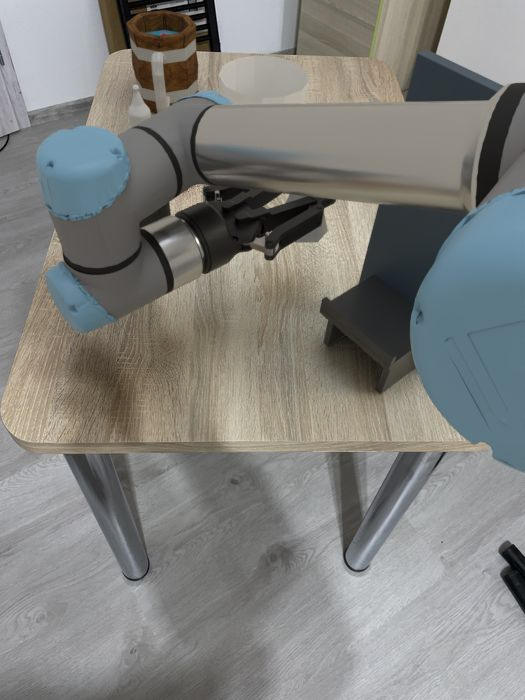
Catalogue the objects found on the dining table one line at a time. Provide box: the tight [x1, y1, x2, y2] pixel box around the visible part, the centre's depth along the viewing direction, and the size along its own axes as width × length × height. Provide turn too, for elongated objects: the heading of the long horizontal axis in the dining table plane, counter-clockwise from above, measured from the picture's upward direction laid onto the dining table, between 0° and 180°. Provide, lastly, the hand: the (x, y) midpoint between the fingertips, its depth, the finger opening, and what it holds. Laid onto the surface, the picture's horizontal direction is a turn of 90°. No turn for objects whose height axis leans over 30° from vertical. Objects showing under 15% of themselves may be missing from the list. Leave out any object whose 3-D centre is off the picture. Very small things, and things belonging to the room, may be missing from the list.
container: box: [218, 54, 310, 104], centre depth 93 cm, size 14×14×18 cm
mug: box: [125, 9, 200, 115], centre depth 108 cm, size 20×14×15 cm
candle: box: [127, 84, 172, 228], centre depth 78 cm, size 5×5×25 cm
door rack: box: [319, 49, 505, 395], centre depth 61 cm, size 14×16×36 cm
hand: (336, 174), depth 70 cm, fingers closed on flask, 3 cm apart
